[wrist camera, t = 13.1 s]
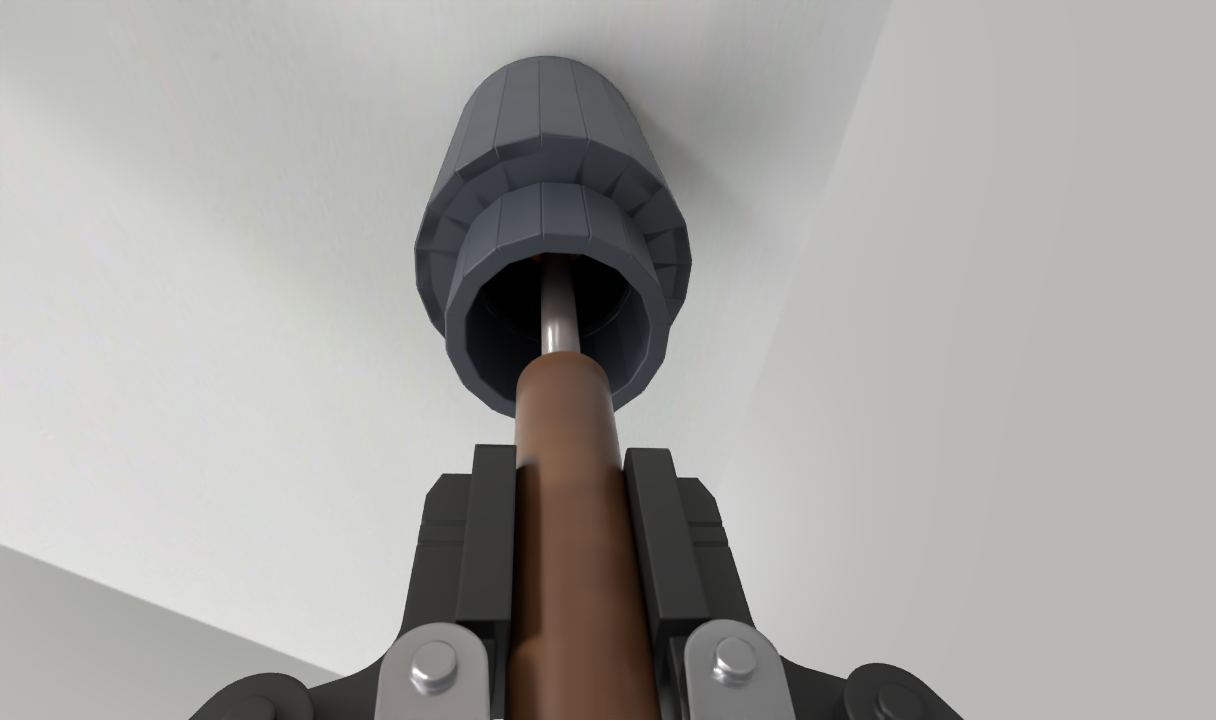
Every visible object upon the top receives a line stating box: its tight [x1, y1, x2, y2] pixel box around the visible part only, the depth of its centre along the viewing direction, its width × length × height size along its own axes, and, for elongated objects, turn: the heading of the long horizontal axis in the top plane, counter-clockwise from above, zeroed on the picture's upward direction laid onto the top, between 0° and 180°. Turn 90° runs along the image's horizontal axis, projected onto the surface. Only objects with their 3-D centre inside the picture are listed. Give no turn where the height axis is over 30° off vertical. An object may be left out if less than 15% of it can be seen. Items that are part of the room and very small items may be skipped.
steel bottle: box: [414, 56, 692, 418], centre depth 23 cm, size 8×8×16 cm
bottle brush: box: [503, 252, 662, 720], centre depth 18 cm, size 3×3×24 cm
